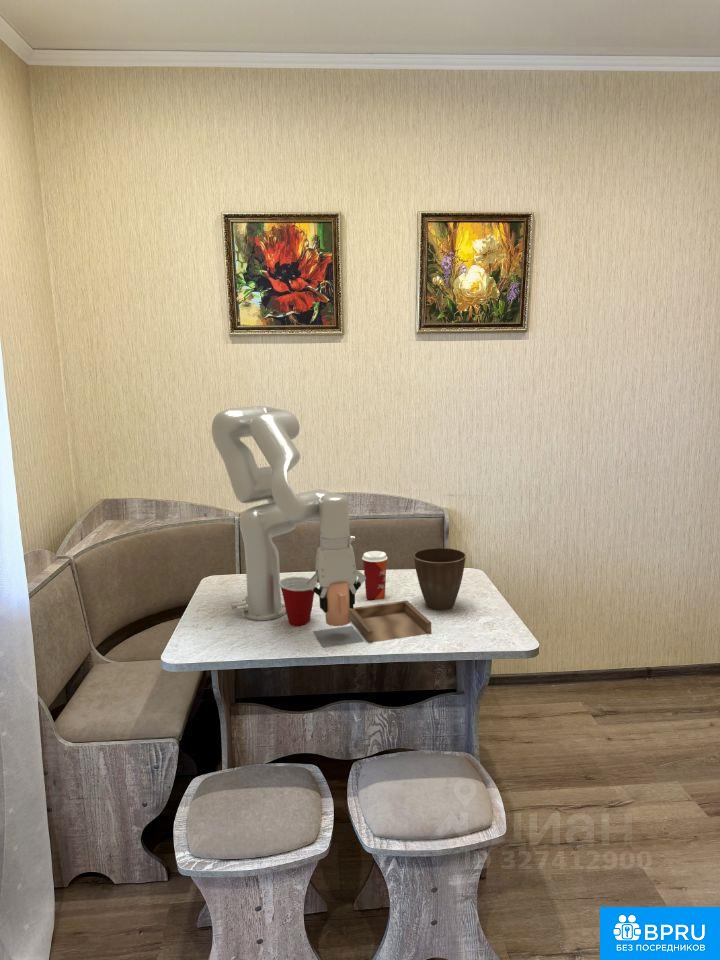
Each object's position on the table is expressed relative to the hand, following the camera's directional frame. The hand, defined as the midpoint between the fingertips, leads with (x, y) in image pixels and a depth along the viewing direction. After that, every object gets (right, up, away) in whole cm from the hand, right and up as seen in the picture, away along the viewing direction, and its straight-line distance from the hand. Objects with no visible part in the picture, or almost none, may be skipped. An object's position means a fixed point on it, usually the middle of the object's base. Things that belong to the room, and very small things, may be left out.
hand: (337, 608), depth 177 cm
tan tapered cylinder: (+1, -4, -1) cm, 4 cm away
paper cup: (+11, -3, +31) cm, 33 cm away
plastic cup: (-11, -7, +13) cm, 18 cm away
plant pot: (+29, -4, +22) cm, 37 cm away
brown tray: (+14, -7, +8) cm, 17 cm away
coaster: (0, -8, +2) cm, 8 cm away
